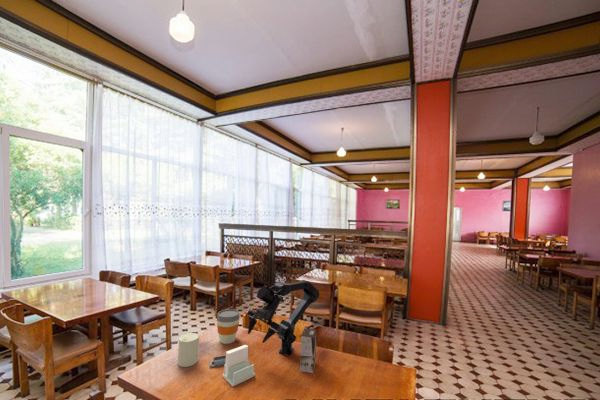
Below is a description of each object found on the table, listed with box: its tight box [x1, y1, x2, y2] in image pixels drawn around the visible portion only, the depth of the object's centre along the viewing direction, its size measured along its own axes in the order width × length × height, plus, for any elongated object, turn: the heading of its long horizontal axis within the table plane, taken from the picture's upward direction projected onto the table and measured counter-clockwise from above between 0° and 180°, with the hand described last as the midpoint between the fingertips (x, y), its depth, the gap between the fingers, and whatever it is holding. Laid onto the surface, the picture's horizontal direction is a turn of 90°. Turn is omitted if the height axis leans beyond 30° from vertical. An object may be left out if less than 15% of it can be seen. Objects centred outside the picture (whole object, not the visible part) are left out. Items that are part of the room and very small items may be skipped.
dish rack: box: [222, 360, 256, 387], centre depth 117 cm, size 11×9×5 cm
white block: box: [225, 344, 249, 377], centre depth 118 cm, size 10×2×10 cm, turn 133°
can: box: [176, 332, 200, 368], centre depth 127 cm, size 9×9×12 cm
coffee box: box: [299, 328, 317, 374], centre depth 125 cm, size 9×6×16 cm
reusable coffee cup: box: [216, 308, 241, 345], centre depth 149 cm, size 13×13×15 cm
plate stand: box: [208, 354, 226, 369], centre depth 126 cm, size 13×4×2 cm, turn 112°
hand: (255, 338), depth 125 cm, fingers open, 9 cm apart
